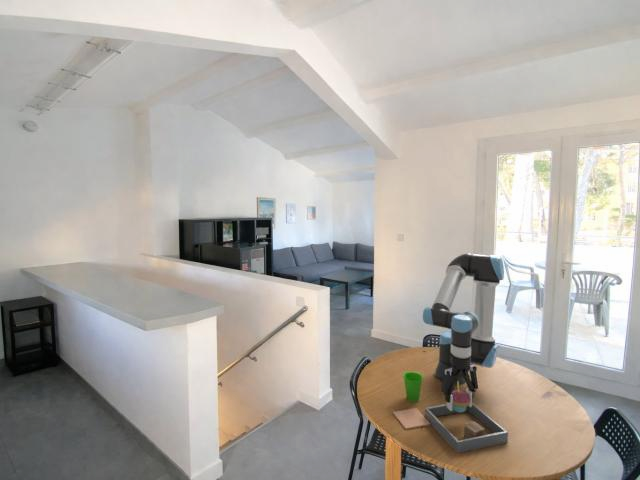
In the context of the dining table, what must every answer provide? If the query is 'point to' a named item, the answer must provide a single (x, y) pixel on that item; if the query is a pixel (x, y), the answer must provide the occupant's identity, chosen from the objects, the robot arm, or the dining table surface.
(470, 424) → the tan cube
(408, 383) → the cup
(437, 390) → the dining table surface
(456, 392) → the cupcake
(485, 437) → the corral
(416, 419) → the plate
